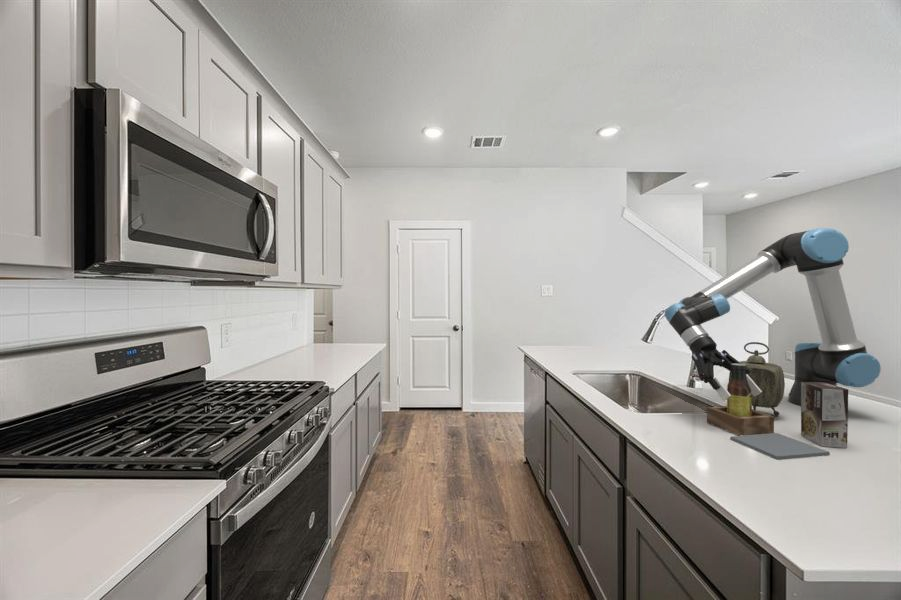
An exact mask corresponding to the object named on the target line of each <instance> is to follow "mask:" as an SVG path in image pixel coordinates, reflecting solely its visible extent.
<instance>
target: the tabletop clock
mask: <svg viewBox="0 0 901 600" xmlns="http://www.w3.org/2000/svg"><path fill="white" fill-rule="evenodd" d="M749 345H761V346H764V347H765V348H766V349H767V350H766V351H764V352H759V350H758V349H757V350H754V352H753V351H749V350H748V349H747V348H746V347H748V346H749ZM743 350H744V351H745V352H746V353H748V354H751V355H749V357H748V358H747V359H746V360H742V361H741V360H740V361H739V362H740V363H741V364H745V365H747V368H748V369H749V370H750V371H751V372H750V373H749V374H748V375H749V377H750V378H751V379H752V380H753V381H754V383H755V384H756V385H757V386H758V387H759V389H760V390H761V391H762V392H761V393H760V394H758V395H757V396H753V395H752V394H751V396H752V410H755V411H757V407H758V408H764V409H765V408H767V409H771V410H772V411H773V415H774V417H778V416H780V412H779V411H777V410H776V409H775V408H777V407H778V406H779V405H780V404H781V402H782V401H783V398H784V395H785V387H786V384H785V374H784V371H783V368H782V366H780V365H778V364H776V363H770V362H766V359H765V358H764V357H763V356H761V355H766V354H767V353H768V352H770V348H769V346H768V345H767V344H765V343H762V342H756V341H752V342H748V343H746V344H744V346H743ZM728 375H729V376H728V383H729V382H730V380H731V378H732V377H731V376H732V372H731V371H729V374H728Z"/></svg>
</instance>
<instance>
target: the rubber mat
mask: <svg viewBox="0 0 901 600" xmlns="http://www.w3.org/2000/svg"><path fill="white" fill-rule="evenodd" d="M729 439H730V440H731V441H733V442H736V443H738V444H740V445H742V446H745V447H747V448H750V449H752V450H754V451H757V452H758V453H761V454H763V455H766V456H768V457H771V458H773V459H775V460H786V459H787V460H789V459H797V458H798V459H799V458H810V457H812V456H813V457H821V456H822V455H824V456H830V455H831V453H830V451H828V450H825V449H822V448H820V447H817V446H814V445H811V444H808V443H805V442H804V441H800V440H797V439H795V438H792V437H789V436H786V435H785V434H781V433H779V432H774V433H769V434H756V435H743V436H739V435H735V436H730V437H729Z"/></svg>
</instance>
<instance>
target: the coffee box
mask: <svg viewBox="0 0 901 600" xmlns="http://www.w3.org/2000/svg"><path fill="white" fill-rule="evenodd" d="M848 418H849V389H848V388H845V387H842V386H838V385H837V386H835V385H832V384H829V383H825V382H801V405H800V435H801V436H802V437H804V438H805V439H808V440H809V441H811V442H813V443H815V444H816V445H819V446H821V447H828V448H829V447H830V448H841V449H842V448H844V449H847V448H848V435H849V434H848V431H849V430H848V429H849V427H848V426H849V425H848V423H849V422H848V420H849V419H848Z"/></svg>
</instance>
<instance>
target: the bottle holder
mask: <svg viewBox="0 0 901 600" xmlns="http://www.w3.org/2000/svg"><path fill="white" fill-rule="evenodd" d="M706 423H707V424H709V425H712V426H713V427H714V426H715V427H717V428H720V429H721V428H722V430H723V431H724V430H725V431H726V430H727V432H729V433H731V432H732V434H734V435H735V436H740V435H743V436H745V435H758V434H772V433H775V415H774V416H773V415H771V414H767V413H764V412H761V411H758V410H756V411H755V410H753V409H752V416H748V417H738V416H735V415H732V414H729V413H727V405H726V406H725V405H724V406H723V405H722V406H720V405H719V406H708V407H706Z"/></svg>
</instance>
